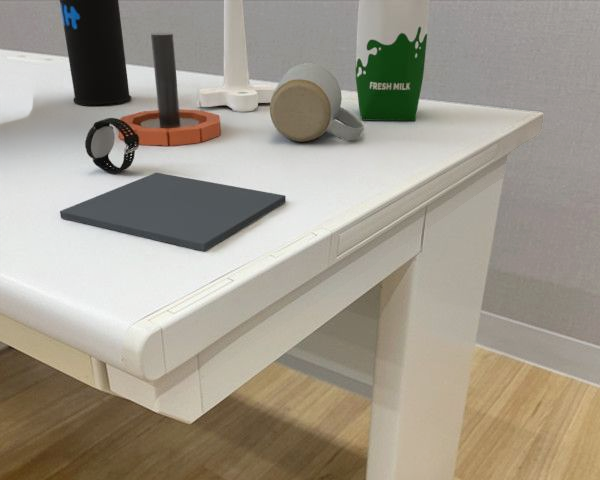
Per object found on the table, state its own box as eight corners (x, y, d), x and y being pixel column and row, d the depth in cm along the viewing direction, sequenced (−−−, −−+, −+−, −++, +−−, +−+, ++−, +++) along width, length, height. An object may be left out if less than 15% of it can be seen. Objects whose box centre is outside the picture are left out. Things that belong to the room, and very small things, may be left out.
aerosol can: (130, 94, 98) (113, -55, 88) (132, 104, 91) (114, -56, 81) (74, 96, 96) (51, -56, 86) (72, 107, 89) (46, -57, 79)
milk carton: (414, 108, 89) (428, -54, 80) (423, 123, 81) (440, -56, 72) (351, 107, 90) (358, -55, 80) (354, 122, 82) (362, -57, 72)
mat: (60, 218, 51) (59, 211, 50) (156, 178, 60) (156, 172, 60) (204, 251, 45) (203, 243, 45) (285, 202, 54) (285, 195, 54)
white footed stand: (269, 99, 94) (267, -54, 85) (285, 109, 88) (285, -56, 79) (195, 104, 91) (184, -56, 82) (207, 114, 85) (196, -57, 75)
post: (128, 135, 75) (116, 35, 69) (166, 124, 80) (157, 29, 75) (176, 143, 72) (167, 38, 67) (211, 130, 77) (206, 32, 72)
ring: (97, 138, 74) (95, 124, 73) (163, 118, 83) (162, 105, 82) (179, 151, 69) (177, 136, 68) (240, 128, 78) (239, 115, 78)
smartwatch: (120, 162, 65) (113, 112, 62) (147, 173, 61) (141, 121, 59) (82, 170, 62) (74, 118, 60) (108, 182, 59) (100, 128, 56)
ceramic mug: (266, 143, 72) (266, 71, 68) (279, 126, 79) (279, 61, 75) (360, 148, 70) (365, 76, 67) (364, 131, 78) (369, 65, 74)
